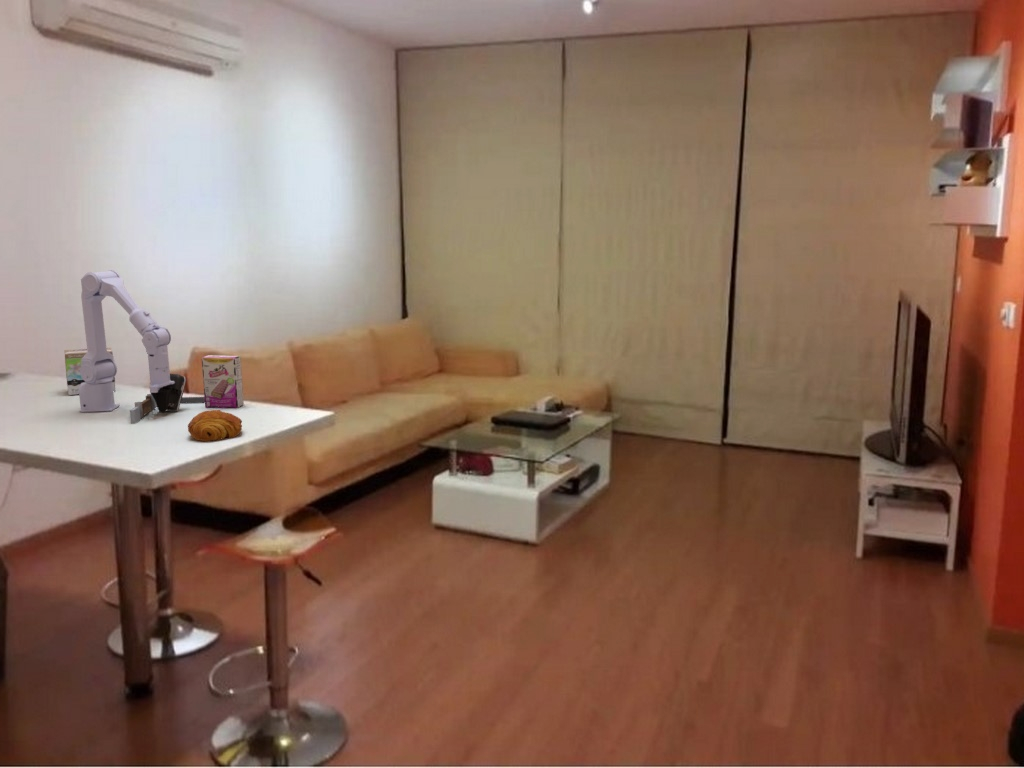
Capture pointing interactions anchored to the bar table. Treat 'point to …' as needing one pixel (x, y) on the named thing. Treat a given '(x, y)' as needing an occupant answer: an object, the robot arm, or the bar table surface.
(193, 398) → the bar
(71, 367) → the tea box
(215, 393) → the candy bar box
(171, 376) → the battery charger
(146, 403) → the gate
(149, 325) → the robot arm
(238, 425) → the croissant
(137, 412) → the fence
